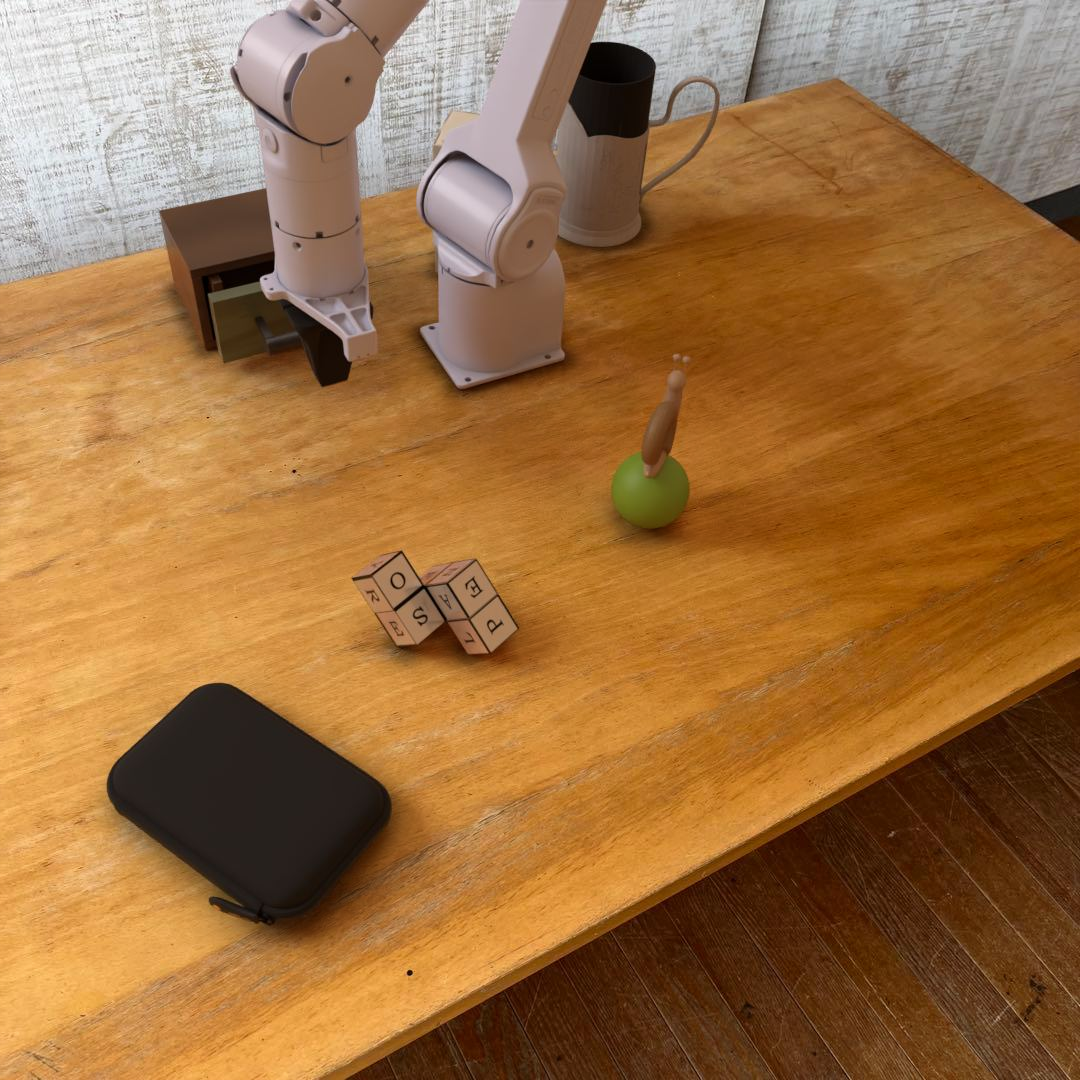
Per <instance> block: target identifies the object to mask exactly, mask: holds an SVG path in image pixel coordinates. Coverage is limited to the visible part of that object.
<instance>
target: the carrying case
mask: <svg viewBox="0 0 1080 1080" xmlns="http://www.w3.org/2000/svg"><path fill="white" fill-rule="evenodd" d="M106 793H107V796H108V799H109V802H110V803H111V804H112V806H113V807H114V810H115V811H116V812H117V813H118V814H119V815H120V816H122V817H124V818H125V819H127V820H128V821H129V822H130V823H132V824H133V825H134V826H136V827H137V828H138V829H140V830H141V831H142V832H144V833H145V834H146V835H148V836H149V837H150V838H151V839H153V840H155V841H156V842H157V843H159V844H160V845H161V846H162V847H163V848H165V849H166V850H168V851H169V852H170V853H172V855H174V856H176V858H178V859H180V860H181V861H182V862H183V863H185V864H186V865H188V866H189V867H190V868H191V869H193V870H194V871H195V872H196V873H199V875H201V876H202V877H203V878H204V879H206V880H208V881H209V882H210V883H211V884H212V885H214V886H215V887H217V888H218V889H219V890H221V891H222V892H223V893H225V894H226V895H227V896H229V897H230V898H231V899H233V900H234V901H235V902H237V903H238V904H237V903H235V902H233V901H230V900H228V899H225V898H223V897H220V896H210V897H208V904H209V905H210V906H211V907H212V908H214V909H215V910H217V911H219V912H221V913H223V914H226V915H229V916H232V917H234V918H237V919H240V920H243V921H246V922H249V923H251V924H254V925H258V924H260V923H262V924H263V925H266V926H268V927H272V926H274V925H276V923H290V922H295V921H298V920H301V919H303V918H305V917H308V916H309V915H310V914H312V913H314V911H316V910H317V909H318V908H319V906H320V905H321V904H322V903H323V902H324V901H325V900H326V898H328V896H329V895H330V894H331V893H332V891H333V890H334V889H335V888H336V886H338V884H340V883H341V881H342V879H343V878H345V876H346V875H347V874H348V873H349V872H350V871H351V869H352V868H353V867H354V865H356V863H357V862H358V861H359V859H360V858H362V856H363V855H364V854H365V853H366V852H367V850H368V849H369V848H370V847H371V846H372V845H373V844H374V843H375V841H376V840H377V839H378V837H379V836H380V835H381V834H382V833H383V832H384V831H385V830H386V828H387V826H388V825H389V823H390V821H391V818H392V814H393V813H392V812H393V803H392V799H391V795H390V793H389V791H388V789H387V788H386V787H385V785H383V784H382V783H381V782H380V781H379V780H378V779H376V778H375V777H374V776H372V775H371V774H369V773H368V772H366V771H365V770H363V769H362V768H360V767H359V766H358V765H356V764H355V763H353V762H351V761H349V759H347V758H345V757H344V756H342V755H341V754H340V753H338V752H336V751H335V750H333V749H332V748H330V747H329V746H327V745H326V744H324V743H322V742H321V741H319V740H318V739H316V738H315V737H314V736H312V735H310V734H309V733H308V732H306V731H305V730H303V729H301V728H300V727H298V726H297V725H296V724H294V723H293V722H291V721H289V720H288V719H286V718H284V717H283V716H282V715H280V714H279V713H277V712H276V711H275V710H272V709H271V708H270V707H268V706H266V705H265V704H263V702H261V701H259V700H257V699H256V698H254V696H251V695H250V694H248V693H247V692H245V691H244V690H242V689H240V688H238V687H237V686H236V685H235V686H234V685H233V684H230V683H227V682H211V683H206V684H204V685H200V686H198V687H196V688H194V689H193V690H192V691H190V692H189V693H188V694H187V695H186V696H185V697H184V698H183V699H181V701H179V702H178V703H177V704H176V705H175V706H174V707H173V708H172V709H170V711H169V712H167V713H166V715H164V716H163V717H162V718H161V719H160V720H158V722H157V723H156V724H155V725H154V726H153V727H152V728H150V729H149V730H148V731H147V732H146V733H145V734H143V736H141V738H140V739H138V740H137V741H136V742H135V743H134V744H132V746H131V747H130V748H128V750H127V751H125V752H124V753H123V754H122V755H121V756H120V757H119V758H118V759H117V760H116V761H115V762H114V763H113V765H112V767H111V769H110V770H109V773H108V775H107V779H106Z"/></svg>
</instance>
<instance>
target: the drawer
mask: <svg viewBox="0 0 1080 1080" xmlns="http://www.w3.org/2000/svg"><path fill="white" fill-rule="evenodd" d="M274 270H275V260H271V261H267V262H263V263H258V264H254V265H250V266H245V267H241V268H237V269H232V270H228V271H224V272H220V273H215V274H211V275H207V276H202V280H203V286H204V291H205V296H206V302H207V307H208V312H209V315H210V317H211V319H212V321H213V325H214V330H215V336H216V341H217V346H218V347H217V351H218V356H219V358H220V360H221V362H222V363H223V364H227V363H232V362H236V361H238V360H243V359H247V358H251V357H255V356H259V355H262V354H267V356H268V357H269V358H270V357H274V356H279V355H282V354H286V353H289V352H294V351H298V350H300V349H304V347H303V344H302V342H301V339H300V336H299V334H298V333H297V331H296V330H295V328H294V327H293V325H292V324H291V322H290V320H289V319H288V317H287V315H286V313H285V311H284V310H283V308H282V307H281V305H280V303H279V302H278V300H275V301H272V300H269V299H268V298H267V297H266V296H265V294H264V292H263V291H262V289H261V283H260V278H261V277H262V276H265V275H268V274H271V273H273V272H274Z"/></svg>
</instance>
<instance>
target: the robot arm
mask: <svg viewBox="0 0 1080 1080" xmlns="http://www.w3.org/2000/svg"><path fill="white" fill-rule="evenodd" d="M430 1H431V0H289V3H288V5H287V7H286V8H285V9H284V8H283V9H276V10H273V11H272V12H273V13H269V14H268V13H266V14H265V15H263V16H260V17H259V18H257V19H255V21H253V22H252V23H251V24H250V26H248V27H247V28H246V30H245V31H244V33H243V35H242V37H241V39H240V42H239V45H238V48H237V55H236V63H235V64H234V65H231V66H230V68H229V74H230V78H231V81H232V83H233V85H234V87H235V89H236V91H237V92H238V93H239V95H240V96H241V97H242V98H243V99H244V100H246V101H247V102H248V103H249V104H250V105H251V107H252V110H253V113H254V120H255V126H256V128H257V129H258V135H259V142H260V143H259V144H260V151H261V158H262V167H263V174H264V183H265V188H266V190H267V198H268V206H269V213H270V220H271V228H272V235H273V243H274V251H275V270H274V272H273V273H271V274H268V275H265V276H262V277H261V278H260V283H261V289H262V291H263V292H264V294H265V296H266V297H267V298H268V299H269V300H272V301H275V300H278V302H279V303H280V305H281V307H282V308H283V310H284V311H285V313H286V315H287V317H288V319H289V320H290V322H291V324H292V325H293V327H294V328H295V330H296V331H297V333H298V334H299V336H300V339H301V342H302V344H303V347H304V348H303V350H304V353H305V355H306V358H307V361H308V364H309V366H310V369H311V371H312V373H313V375H314V377H315V378H316V380H317V382H318V384H319V386H320V387H321V388H325V387H329V386H332V385H336V384H340V383H342V382H347V381H348V380H349V376H350V373H351V370H352V369H351V368H352V365H353V362H354V361H358V360H363V359H365V358H370V357H373V356H377V355H378V354H379V351H378V350H379V348H378V331H377V329H376V327H375V325H374V324H373V318H374V306H373V304H372V302H371V301H370V285H369V269H368V266H367V263H366V262H365V253H364V252H365V251H364V250H365V249H364V235H363V234H364V233H363V219H362V205H361V204H362V203H361V191H360V190H361V187H360V176H359V158H358V142H357V140H358V139H357V128H358V127H359V125H361V124H362V123H363V122H365V121H366V120H367V118H368V117H369V114H370V112H371V109H372V106H373V104H374V100H375V96H376V90H377V89H376V88H377V84H378V80H379V78H380V77H381V75H382V73H384V72H385V70H384V66H385V65H386V60H385V59H384V58H385V57H386V56H387V54H389V52H390V51H391V49H392V48H394V46H395V44H396V43H397V42H398V41H399V39H400V38H401V36H403V34H404V33H405V32H406V30H407V29H409V27H410V26H411V25H412V23H413V22H414V21H415V20H416V18H417V17H418V16H419V15H420V13H421V12H422V11H423V10H424V8H425V7H426V6H427V5H428V4H429V2H430ZM607 2H608V0H519V3H518V6H517V9H516V12H515V15H514V17H513V21H512V23H511V26H510V29H509V31H508V34H507V37H506V40H505V43H504V46H503V48H502V51H501V54H500V57H499V59H498V62H497V66H496V68H495V71H494V73H493V77H492V79H491V82H490V85H489V88H488V91H487V93H486V96H485V99H484V102H483V105H482V107H481V110H480V113H479V114H480V116H479V117H478V118H477V119H475V120H473V121H470V122H468V123H465V124H463V125H460V126H458V127H455V128H453V129H451V130H449V131H448V132H447V134H446V137H445V140H444V143H443V145H442V148H441V150H440V152H439V154H438V155H437V157H436V158H435V160H434V161H433V160H432V162H431V163H430V165H429V166H428V167H427V169H426V170H425V172H424V173H423V175H422V177H421V180H420V181H419V185H418V187H417V191H416V199H415V201H416V202H415V203H416V205H415V206H416V211H417V214H418V217H419V218H420V220H421V221H422V223H424V224H425V225H426V226H427V227H429V228H430V229H432V244H433V246H434V247H435V246H436V247H437V248H438V273H437V275H438V276H437V277H438V278H437V281H438V282H437V283H438V284H437V285H438V286H437V287H438V288H437V289H438V291H437V292H438V295H437V296H438V322H434V323H431V324H427V325H422V326H421V327H420V328H419V334H420V335H421V337H422V339H423V340H424V342H425V343H426V344H427V346H428V347H429V349H430V350H431V352H432V353H433V354H434V356H435V357H436V359H437V360H438V362H439V363H440V365H441V366H442V368H443V369H444V371H445V372H446V373H447V375H448V376H449V378H450V380H451V381H452V382H453V384H454V385H455V386H456V388H458V389H459V390H465V389H468V388H472V387H475V386H479V385H481V384H486V383H490V382H492V381H496V380H500V379H504V378H507V377H511V376H514V375H517V374H521V373H523V372H528V371H531V370H534V369H538V368H542V367H544V366H548V365H552V364H555V363H558V362H561V361H563V360H565V357H566V353H565V352H564V350H563V349H562V335H563V325H564V323H563V322H564V316H565V315H564V313H565V302H566V278H565V272H564V268H563V264H562V262H561V258H560V256H559V254H558V252H557V250H556V249H555V246H556V243H557V240H558V236H559V235H558V231H559V216H560V211H561V207H562V204H563V201H564V199H565V196H566V194H567V191H568V190H567V186H566V183H565V180H564V178H563V175H562V173H561V171H560V168H559V166H558V163H557V161H556V156H555V154H554V151H553V147H552V143H553V141H554V139H555V137H556V133H557V132H558V130H559V123H560V121H561V118H562V116H563V113H564V111H565V108H566V105H567V103H568V100H569V98H570V95H571V93H572V90H573V87H574V85H575V82H576V80H577V77H578V75H579V72H580V69H581V67H582V64H583V62H584V59H585V57H586V54H587V51H588V49H589V46H590V44H591V43H592V41H593V38H594V36H595V33H596V31H597V28H598V26H599V23H600V21H601V18H602V16H603V13H604V10H605V7H606V5H607Z"/></svg>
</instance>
